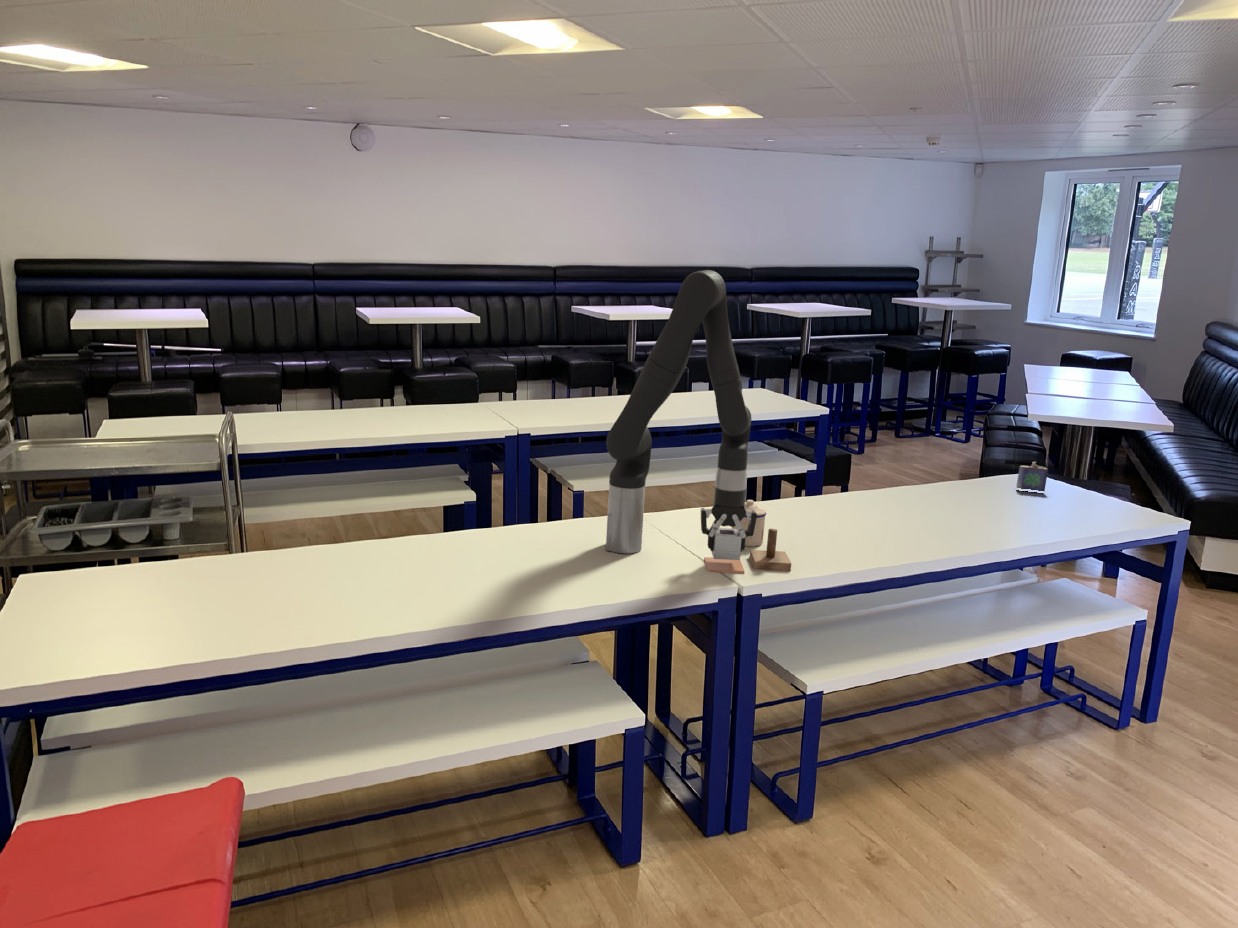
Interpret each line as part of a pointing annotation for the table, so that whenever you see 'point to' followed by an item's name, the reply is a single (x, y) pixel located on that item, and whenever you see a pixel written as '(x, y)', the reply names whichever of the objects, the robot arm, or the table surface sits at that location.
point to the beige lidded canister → (759, 526)
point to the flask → (1032, 477)
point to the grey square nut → (727, 544)
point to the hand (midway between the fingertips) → (725, 550)
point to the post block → (770, 556)
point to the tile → (723, 565)
